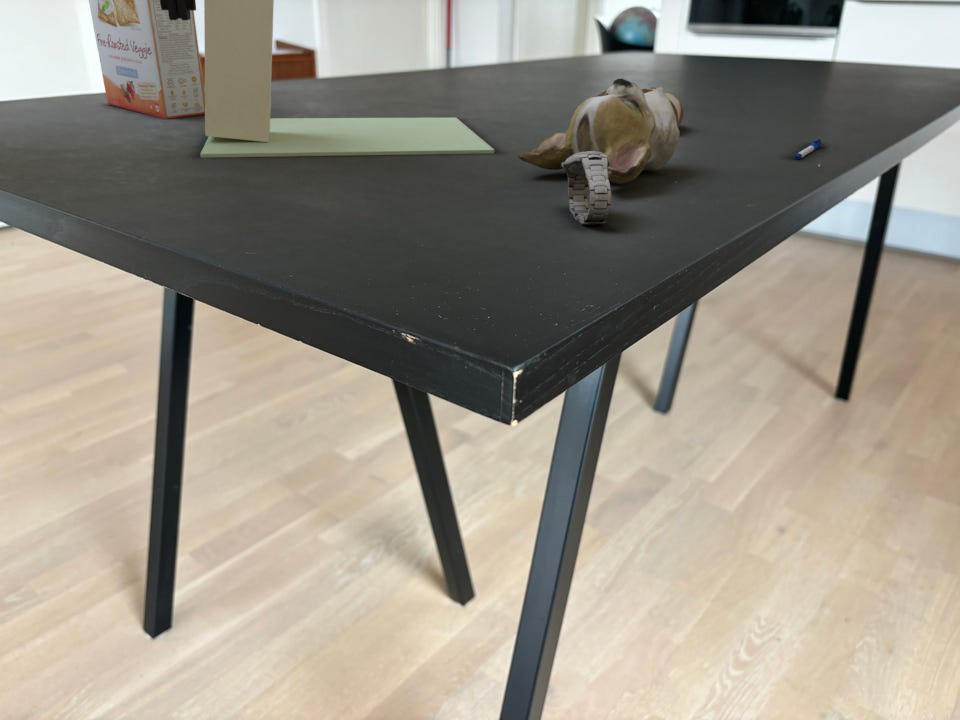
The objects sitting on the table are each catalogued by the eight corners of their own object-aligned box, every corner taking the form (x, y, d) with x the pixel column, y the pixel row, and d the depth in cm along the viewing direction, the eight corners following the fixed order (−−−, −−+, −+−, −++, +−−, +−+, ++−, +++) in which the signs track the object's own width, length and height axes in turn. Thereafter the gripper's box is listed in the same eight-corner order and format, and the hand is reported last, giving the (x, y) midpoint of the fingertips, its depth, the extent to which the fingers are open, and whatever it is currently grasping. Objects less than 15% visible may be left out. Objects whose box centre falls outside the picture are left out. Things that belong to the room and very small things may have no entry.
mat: (200, 159, 71) (200, 153, 71) (217, 122, 89) (217, 118, 88) (494, 154, 77) (494, 149, 77) (456, 121, 94) (456, 117, 94)
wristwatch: (596, 209, 59) (602, 143, 57) (620, 233, 54) (628, 161, 52) (551, 209, 59) (556, 143, 57) (571, 233, 53) (578, 161, 51)
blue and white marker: (813, 146, 87) (815, 137, 87) (821, 147, 87) (823, 138, 86) (793, 160, 79) (795, 150, 78) (802, 161, 78) (804, 152, 78)
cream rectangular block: (205, 136, 75) (203, -73, 68) (210, 125, 80) (209, -70, 73) (268, 142, 77) (274, -61, 69) (269, 131, 82) (275, -59, 74)
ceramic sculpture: (718, 74, 67) (621, 98, 57) (705, 173, 71) (613, 211, 61) (615, 64, 73) (512, 84, 64) (609, 156, 77) (512, 188, 68)
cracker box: (104, 106, 97) (69, -85, 88) (149, 102, 101) (121, -81, 92) (162, 121, 89) (131, -89, 79) (209, 115, 93) (184, -84, 84)
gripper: (38, -237, 60) (86, 20, 68) (237, -222, 63) (260, 22, 71) (62, -216, 66) (103, 16, 75) (242, -203, 70) (262, 18, 78)
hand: (180, 18), depth 73 cm, fingers closed
